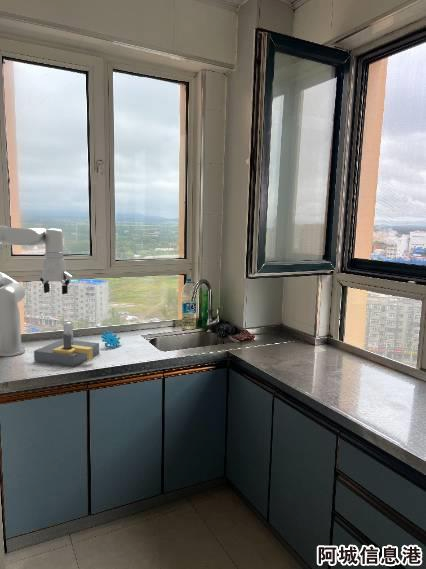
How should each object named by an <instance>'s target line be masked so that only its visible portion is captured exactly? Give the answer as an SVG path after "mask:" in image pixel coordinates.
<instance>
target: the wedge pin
mask: <svg viewBox="0 0 426 569" xmlns="http://www.w3.org/2000/svg"><path fill="white" fill-rule="evenodd" d="M62 336H63V337H62V338H63V341H64V349H66V350H70V349H71V334H64V333H63V334H62Z"/></svg>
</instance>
